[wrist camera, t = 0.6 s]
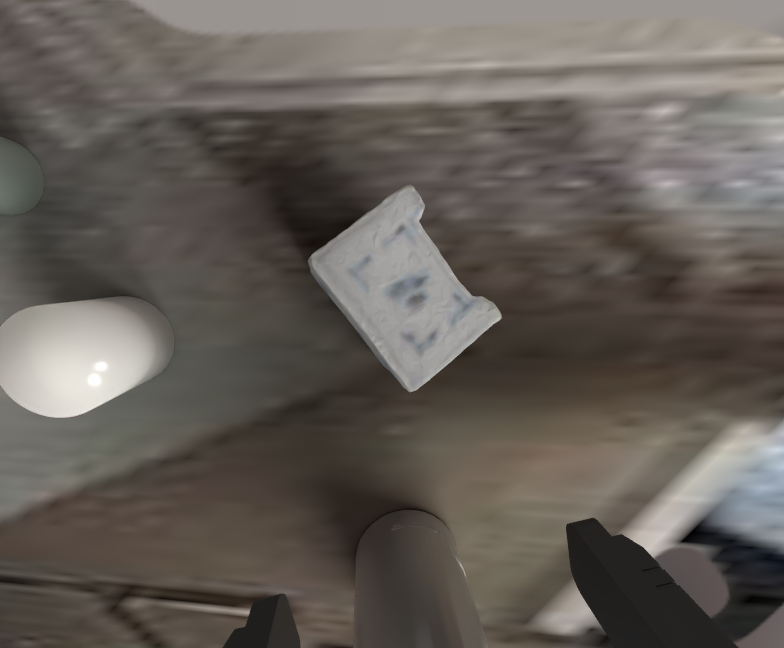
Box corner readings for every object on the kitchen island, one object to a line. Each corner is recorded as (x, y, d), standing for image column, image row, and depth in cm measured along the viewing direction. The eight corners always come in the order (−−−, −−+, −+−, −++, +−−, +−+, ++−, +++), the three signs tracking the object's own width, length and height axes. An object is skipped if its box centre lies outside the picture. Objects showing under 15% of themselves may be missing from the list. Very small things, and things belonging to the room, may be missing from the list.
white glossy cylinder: (172, 387, 30) (113, 423, 23) (80, 377, 29) (-9, 411, 22) (177, 302, 29) (117, 313, 22) (83, 290, 28) (-10, 297, 21)
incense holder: (463, 304, 30) (514, 323, 20) (384, 364, 31) (395, 412, 20) (393, 206, 29) (410, 172, 18) (311, 270, 29) (282, 271, 19)
